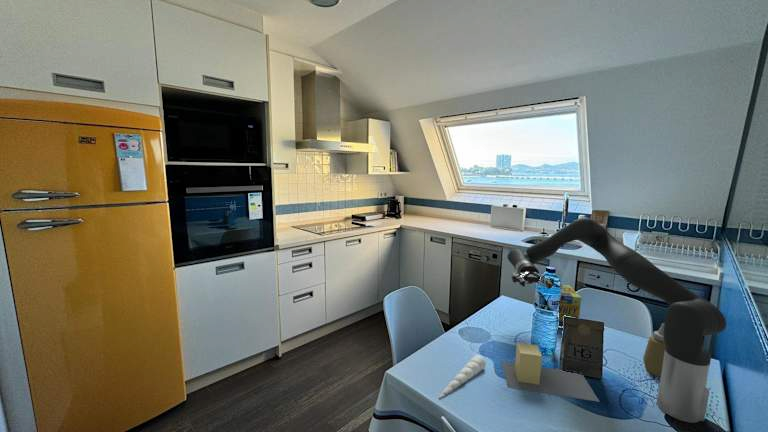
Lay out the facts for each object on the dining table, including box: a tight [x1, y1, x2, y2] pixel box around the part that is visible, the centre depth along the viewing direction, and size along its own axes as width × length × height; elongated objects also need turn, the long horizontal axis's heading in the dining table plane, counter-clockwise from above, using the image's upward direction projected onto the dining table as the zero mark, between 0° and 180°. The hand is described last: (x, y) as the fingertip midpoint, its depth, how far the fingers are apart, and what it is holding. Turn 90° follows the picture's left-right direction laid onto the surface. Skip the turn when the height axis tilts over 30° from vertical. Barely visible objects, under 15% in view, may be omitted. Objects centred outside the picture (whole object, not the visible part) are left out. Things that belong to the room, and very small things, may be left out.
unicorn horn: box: [438, 354, 486, 399], centre depth 102 cm, size 5×24×5 cm, turn 130°
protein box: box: [559, 284, 582, 327], centre depth 144 cm, size 10×15×16 cm
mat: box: [501, 361, 601, 403], centre depth 103 cm, size 26×14×1 cm, turn 77°
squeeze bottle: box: [642, 323, 666, 378], centre depth 107 cm, size 8×8×18 cm
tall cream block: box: [514, 342, 543, 384], centre depth 104 cm, size 6×6×10 cm
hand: (536, 285), depth 112 cm, fingers open, 8 cm apart
